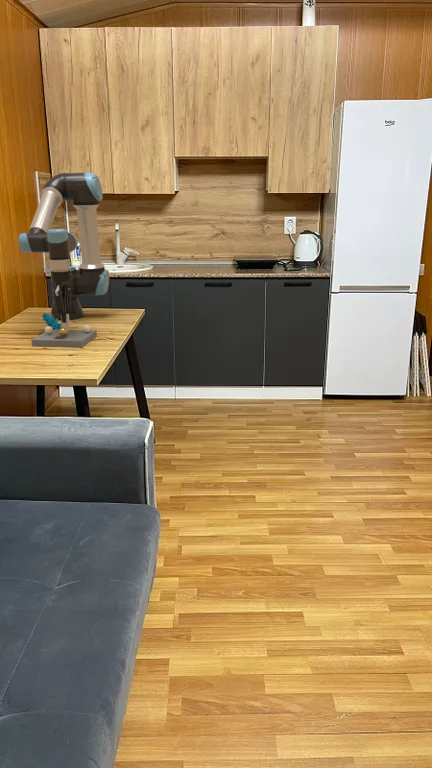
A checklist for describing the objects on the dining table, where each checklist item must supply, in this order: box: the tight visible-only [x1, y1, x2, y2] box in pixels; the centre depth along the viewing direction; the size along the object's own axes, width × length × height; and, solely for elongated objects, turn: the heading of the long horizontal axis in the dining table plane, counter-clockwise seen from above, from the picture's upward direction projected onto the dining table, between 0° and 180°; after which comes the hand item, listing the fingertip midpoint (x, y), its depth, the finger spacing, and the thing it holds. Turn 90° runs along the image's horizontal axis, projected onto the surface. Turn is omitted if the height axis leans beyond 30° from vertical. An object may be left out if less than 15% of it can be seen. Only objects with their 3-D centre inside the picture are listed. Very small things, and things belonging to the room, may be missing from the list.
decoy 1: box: [44, 325, 54, 334], centre depth 225 cm, size 3×3×3 cm
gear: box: [41, 312, 62, 331], centre depth 242 cm, size 11×6×10 cm
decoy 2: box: [82, 324, 92, 333], centre depth 227 cm, size 3×3×3 cm
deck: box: [30, 329, 98, 348], centre depth 224 cm, size 18×20×2 cm
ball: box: [59, 328, 68, 336], centre depth 222 cm, size 3×3×3 cm
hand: (66, 330), depth 225 cm, fingers closed
